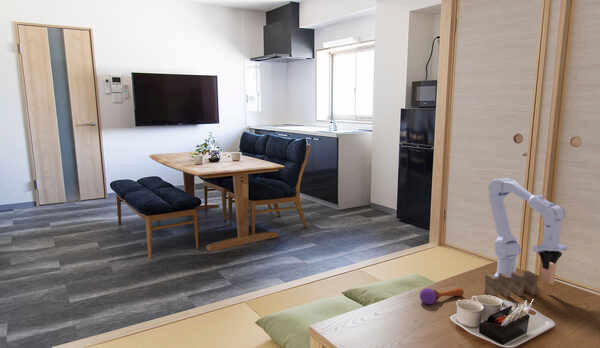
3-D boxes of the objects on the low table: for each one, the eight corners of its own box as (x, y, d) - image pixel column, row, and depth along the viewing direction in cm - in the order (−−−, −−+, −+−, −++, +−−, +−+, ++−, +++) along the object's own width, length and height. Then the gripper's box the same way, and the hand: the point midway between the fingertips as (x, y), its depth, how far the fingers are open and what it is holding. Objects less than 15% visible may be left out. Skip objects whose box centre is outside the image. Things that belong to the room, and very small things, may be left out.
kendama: (467, 289, 162) (429, 294, 153) (463, 302, 164) (425, 308, 155) (456, 281, 167) (418, 285, 158) (452, 294, 169) (415, 299, 160)
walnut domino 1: (488, 292, 168) (490, 273, 167) (496, 297, 163) (498, 278, 162) (484, 293, 168) (485, 274, 167) (492, 298, 163) (493, 278, 162)
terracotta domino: (544, 278, 170) (546, 259, 169) (553, 283, 166) (555, 264, 164) (539, 278, 170) (541, 260, 169) (549, 283, 165) (551, 264, 164)
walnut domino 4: (527, 289, 172) (528, 270, 171) (536, 294, 167) (538, 275, 166) (523, 289, 171) (524, 271, 170) (531, 294, 166) (533, 275, 165)
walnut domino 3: (514, 290, 171) (515, 271, 169) (523, 295, 166) (524, 276, 165) (510, 290, 170) (511, 272, 169) (518, 295, 165) (520, 276, 164)
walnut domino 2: (501, 291, 169) (503, 272, 168) (510, 296, 165) (511, 277, 163) (497, 291, 169) (498, 273, 168) (505, 297, 164) (507, 277, 163)
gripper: (543, 239, 160) (540, 273, 162) (575, 237, 163) (571, 270, 165) (529, 234, 167) (526, 266, 169) (560, 232, 169) (557, 264, 171)
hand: (548, 268), depth 167 cm, fingers closed on terracotta domino, 2 cm apart
